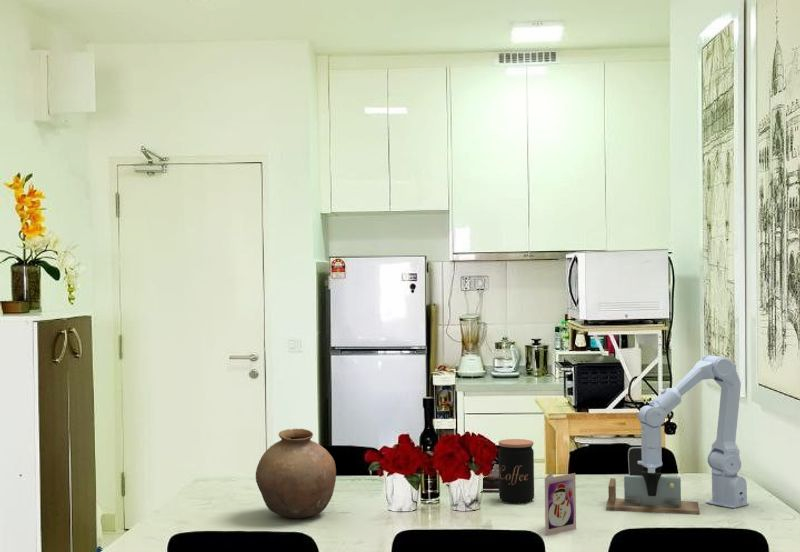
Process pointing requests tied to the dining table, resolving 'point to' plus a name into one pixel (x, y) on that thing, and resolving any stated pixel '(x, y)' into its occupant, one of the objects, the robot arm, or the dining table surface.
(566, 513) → the greeting card
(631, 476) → the door panel
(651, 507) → the hinge rail
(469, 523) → the dining table surface
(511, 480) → the coffee jar
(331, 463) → the pottery
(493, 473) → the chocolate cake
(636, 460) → the battery charger
